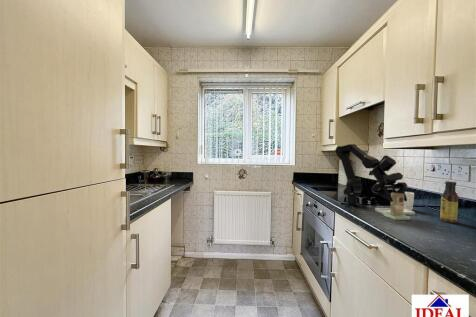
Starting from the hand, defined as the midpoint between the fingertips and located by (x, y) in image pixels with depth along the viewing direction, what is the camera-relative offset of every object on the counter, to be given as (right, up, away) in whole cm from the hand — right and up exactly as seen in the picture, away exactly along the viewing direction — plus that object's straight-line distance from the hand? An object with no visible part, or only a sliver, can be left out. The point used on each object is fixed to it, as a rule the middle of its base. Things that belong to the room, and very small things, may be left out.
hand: (399, 201), depth 120 cm
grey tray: (+10, -9, +12) cm, 18 cm away
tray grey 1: (+1, -8, +12) cm, 14 cm away
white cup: (+17, -9, +21) cm, 28 cm away
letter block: (-1, -8, +1) cm, 8 cm away
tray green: (-1, -9, +1) cm, 9 cm away
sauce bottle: (+22, -10, -3) cm, 24 cm away
